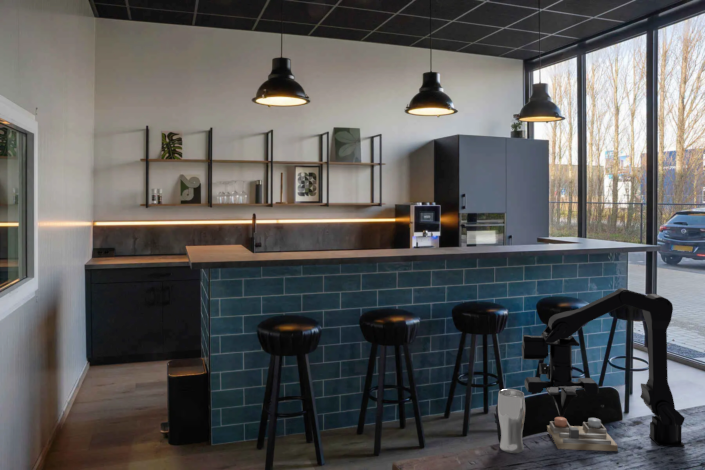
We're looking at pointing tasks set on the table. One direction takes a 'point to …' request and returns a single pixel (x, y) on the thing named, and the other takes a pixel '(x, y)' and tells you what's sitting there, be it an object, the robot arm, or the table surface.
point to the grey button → (594, 422)
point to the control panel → (582, 438)
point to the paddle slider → (573, 433)
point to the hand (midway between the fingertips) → (561, 415)
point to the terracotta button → (560, 422)
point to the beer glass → (511, 419)
